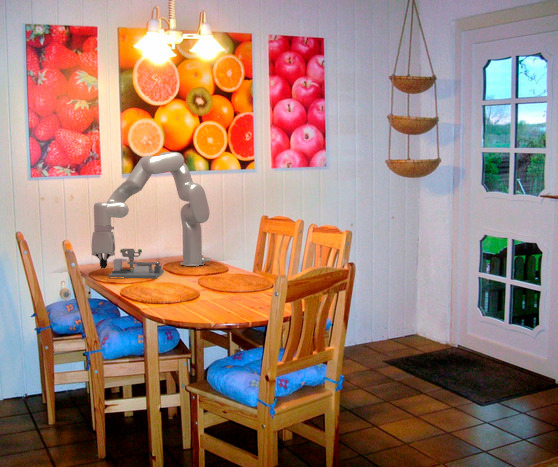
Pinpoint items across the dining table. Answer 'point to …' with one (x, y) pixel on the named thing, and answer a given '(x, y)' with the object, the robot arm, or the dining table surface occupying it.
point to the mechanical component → (130, 254)
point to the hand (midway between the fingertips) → (103, 267)
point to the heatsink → (142, 269)
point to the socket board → (130, 274)
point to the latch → (118, 264)
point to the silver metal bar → (145, 263)
